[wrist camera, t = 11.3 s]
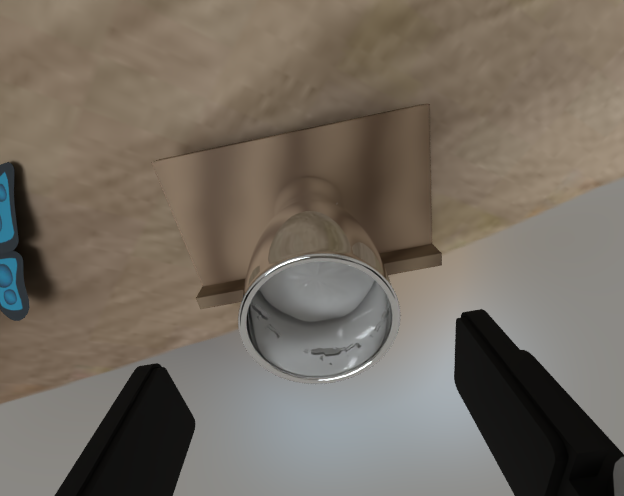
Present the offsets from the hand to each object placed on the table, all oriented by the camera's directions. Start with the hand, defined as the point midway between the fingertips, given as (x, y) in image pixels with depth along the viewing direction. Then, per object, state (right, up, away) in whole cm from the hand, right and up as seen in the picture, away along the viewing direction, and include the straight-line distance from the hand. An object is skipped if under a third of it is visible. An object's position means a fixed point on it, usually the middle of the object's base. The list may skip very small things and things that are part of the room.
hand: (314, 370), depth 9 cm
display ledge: (-1, +9, +20) cm, 22 cm away
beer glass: (0, +7, +16) cm, 18 cm away
